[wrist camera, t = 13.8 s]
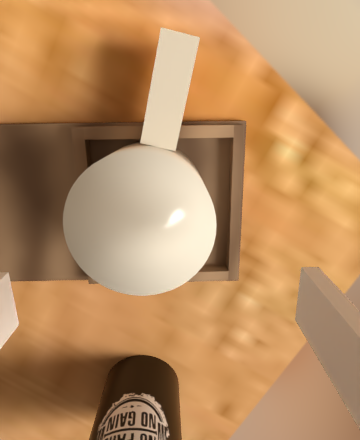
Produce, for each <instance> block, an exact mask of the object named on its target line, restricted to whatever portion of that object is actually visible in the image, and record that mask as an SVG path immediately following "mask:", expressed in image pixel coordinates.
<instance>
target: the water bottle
mask: <svg viewBox="0 0 360 440" xmlns="http://www.w3.org/2000/svg"><path fill="white" fill-rule="evenodd" d="M89 440H182V437H181V419H180V402H179V384H178V378H177V375H176V373H175V371H174V370H173V369H172V368H171V367H170V366H169V365H168V364H167V363H166V362H164V361H162V360H160V359H158V358H155V357H151V356H133V357H129V358H126V359H124V360H122V361H120V362H118V363H117V364H116V365H115V366H114V367H113V368H112V369H111V370H110V372H109V374H108V377H107V380H106V383H105V387H104V390H103V394H102V397H101V401H100V404H99V407H98V411H97V414H96V418H95V421H94V424H93V428H92V431H91V435H90V438H89Z"/></svg>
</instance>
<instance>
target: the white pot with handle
mask: <svg viewBox="0 0 360 440" xmlns="http://www.w3.org/2000/svg"><path fill="white" fill-rule="evenodd" d="M199 40H200V37H196V36H192V35H189V34H185V33H181V32H177V31H173V30H169V29H165V28H161V31H160V36H159V42H158V47H157V53H156V58H155V64H154V69H153V75H152V81H151V86H150V92H149V97H148V103H147V108H146V114H145V119H144V125H143V130H142V136H141V141H140V142H135V143H131V144H129V145H126V146H124V147H122V148H120V149H119V150H117V151H115V152H113V153H111V154H110V155H108V156H106V157H104V158H103V159H101V160H99V161H97V162H96V163H94V164H93V165H91V166H90V167H89V168H87V169H86V170H85V171H84V172H83V173H82V174H81V175H80V176H79V177H78V179H77V180H76V182H75V183H74V184H73V186H72V188H71V190H70V192H69V194H68V196H67V199H66V202H65V206H64V211H63V230H64V235H65V240H66V243H67V246H68V248H69V251H70V252H71V254H72V256H73V258H74V260H75V261H76V262H77V264H78V265H79V266H80V268H81V269H82V270H83V271H84V272H85V273H86V274H87V275H88V276H90V277H91V278H92V279H93V280H95V281H96V282H98V283H99V284H101V285H103V286H105V287H107V288H109V289H111V290H114V291H117V292H120V293H124V294H129V295H140V296H146V295H156V294H160V293H164V292H167V291H170V290H173V289H175V288H177V287H179V286H181V285H182V284H184V283H185V282H187V281H189V280H190V279H191V278H192V277H193V276H194V275H196V273H197V272H198V271H199V270H200V269H201V268H202V267H203V265H204V264H205V262H206V261H207V259H208V257H209V255H210V253H211V251H212V248H213V245H214V241H215V236H216V214H215V210H214V205H213V203H212V200H211V197H210V195H209V193H208V191H207V189H206V187H205V185H204V182H203V180H202V178H201V176H200V174H199V172H198V170H197V168H196V167H195V165H194V164H193V162H192V161H191V160H190V159H189V158H188V157H187V156H186V155H185V154H184V153H182V152H181V151H180V150H178V149H177V148H176V147H177V142H178V137H179V133H180V128H181V123H182V119H183V114H184V109H185V105H186V100H187V95H188V91H189V86H190V81H191V77H192V72H193V67H194V63H195V58H196V53H197V49H198V44H199Z"/></svg>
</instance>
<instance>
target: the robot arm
mask: <svg viewBox="0 0 360 440" xmlns="http://www.w3.org/2000/svg"><path fill="white" fill-rule="evenodd" d="M295 320H296V322H297V324H298V325H299V327H300V329H301V330H302V332H303V334H304V336H305V337H306V339H307V341H308V342H309V344H310V346H311V347H312V349H313V351H314V353H315V354H316V356H317V358H318V359H319V361H320V363H321V365H322V366H323V368H324V370H325V371H326V373H327V375H328V377H329V378H330V380H331V381H332V383H333V385H334V387H335V388H336V390H337V392H338V394H339V395H340V397H341V399H342V400H343V402H344V404H345V405H346V407H347V409H348V411H349V412H350V414H351V416H352V417H353V419H354V421H355V423H356V424H357V426H358V427H359V429H360V311H359V310H358V309H357V307H356V306H354V305H353V303H352V302H351V301H350V300H349V299H348V298H347V297H346V296H345V295H344V294H343V293H342V292H341V291H340V290H339V288H338V287H337V286H336V285H335V284H334V283H333V282H332V281H331V280H330V279H329V278H328V277H327V276H326V275H325V274H324V273H323V272H322V270H321V269H320V268H319V267H301V275H300V283H299V292H298V300H297V309H296V317H295ZM18 325H19V322H18V317H17V312H16V307H15V302H14V297H13V292H12V287H11V282H10V277H9V272H0V349H1V348H2V346H3V345H4V344H5V342H6V341H7V340H8V338H9V337H10V336H11V334H12V333H13V332H14V331H15V329H16V328H17V327H18Z"/></svg>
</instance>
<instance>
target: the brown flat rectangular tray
mask: <svg viewBox="0 0 360 440" xmlns="http://www.w3.org/2000/svg"><path fill="white" fill-rule="evenodd" d="M143 125H144V122H124V123H52V124H0V272H9V277H10V281H49V280H88V281H89V284H99V283H98V282H96V281H95V280H93V279H92V278H91V277H90V276H88V275H87V274H86V273H85V272H84V271H83V270H82V269H81V268H80V266H79V265H78V264H77V262H76V261H75V260H74V258H73V256H72V254H71V252H70V251H69V248H68V246H67V243H66V240H65V235H64V230H63V211H64V206H65V202H66V199H67V196H68V194H69V192H70V190H71V188H72V186H73V184H74V183H75V182H76V180H77V179H78V177H79V176H80V175H81V174H82V173H83V172H84V171H85V170H86V169H87V168H89V167H90V166H91V165H93V164H94V163H96V162H97V161H99V160H101V159H103V158H104V157H106V156H108V155H110V154H111V153H113V152H115V151H117V150H119V149H120V148H122V147H124V146H126V145H129V144H131V143H135V142H140V141H141V136H142V130H143ZM245 137H246V121H196V122H182V123H181V128H180V133H179V137H178V142H177V147H176V148H177V149H178V150H180V151H181V152H182V153H184V154H185V155H186V156H187V157H188V158H189V159H190V160H191V161H192V162H193V164H194V165H195V167H196V168H197V170H198V172H199V174H200V176H201V178H202V180H203V182H204V185H205V187H206V189H207V191H208V193H209V195H210V197H211V200H212V203H213V205H214V210H215V214H216V236H215V241H214V245H213V248H212V251H211V253H210V255H209V257H208V259H207V261H206V262H205V264H204V265H203V267H202V268H201V269H200V270H199V271H198V272H197V273H196V275H194V276H193V277H192V278H191V279H190V280H189V281H187V282H193V281H239V261H240V240H241V220H242V199H243V179H244V158H245Z"/></svg>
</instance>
